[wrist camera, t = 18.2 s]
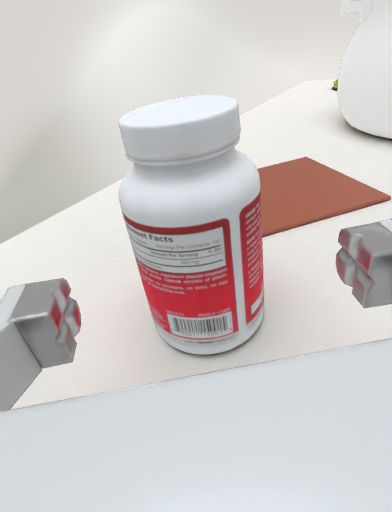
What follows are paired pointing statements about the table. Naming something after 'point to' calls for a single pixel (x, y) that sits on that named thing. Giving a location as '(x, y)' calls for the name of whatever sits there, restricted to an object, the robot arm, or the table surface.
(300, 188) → the napkin
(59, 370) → the table surface
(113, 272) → the table surface
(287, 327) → the table surface
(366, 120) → the pot
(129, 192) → the pill bottle
